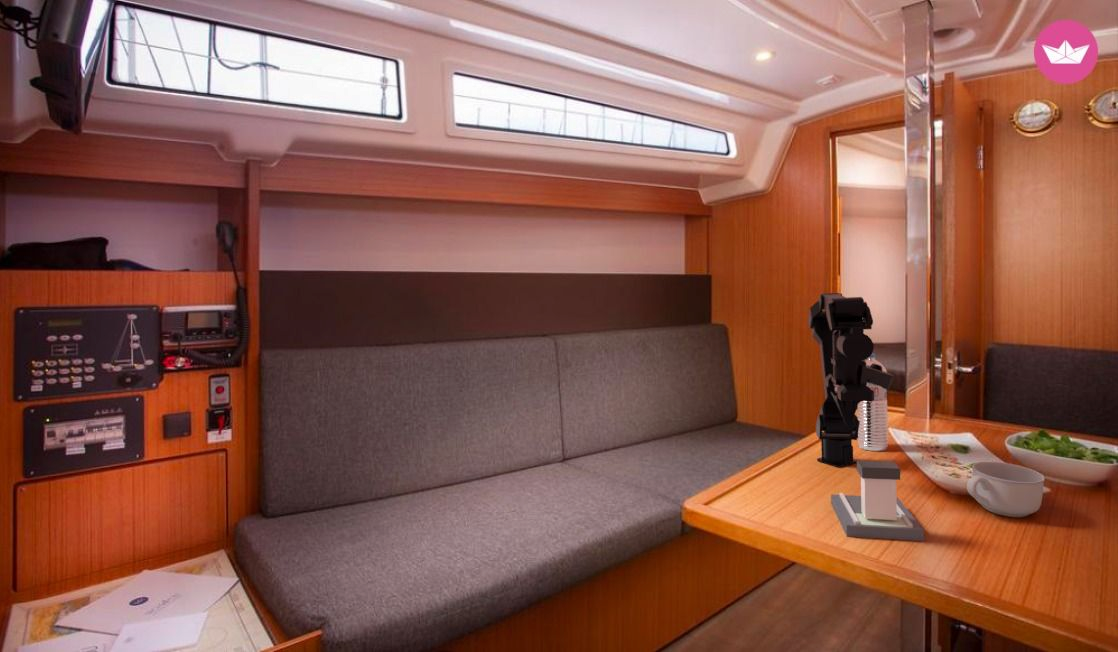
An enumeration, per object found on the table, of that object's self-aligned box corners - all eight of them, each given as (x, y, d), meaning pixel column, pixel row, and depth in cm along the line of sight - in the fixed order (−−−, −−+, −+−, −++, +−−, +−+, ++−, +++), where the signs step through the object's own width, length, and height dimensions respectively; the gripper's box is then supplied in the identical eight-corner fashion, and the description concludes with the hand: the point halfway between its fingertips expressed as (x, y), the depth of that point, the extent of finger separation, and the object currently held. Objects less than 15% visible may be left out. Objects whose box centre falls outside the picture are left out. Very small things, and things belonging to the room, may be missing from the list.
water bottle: (852, 447, 152) (850, 354, 150) (869, 443, 155) (868, 351, 153) (876, 453, 146) (874, 356, 144) (893, 449, 148) (892, 353, 147)
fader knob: (857, 510, 106) (856, 460, 105) (894, 512, 104) (893, 461, 103) (862, 519, 102) (862, 467, 101) (900, 521, 100) (900, 468, 99)
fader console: (831, 504, 115) (830, 491, 115) (897, 507, 112) (897, 494, 112) (846, 536, 101) (846, 522, 101) (923, 541, 98) (923, 526, 97)
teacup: (1011, 498, 113) (1011, 459, 113) (1060, 521, 102) (1061, 477, 102) (942, 503, 113) (942, 463, 112) (985, 526, 102) (985, 482, 101)
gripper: (902, 360, 113) (903, 437, 114) (877, 349, 131) (878, 416, 132) (840, 361, 116) (842, 436, 117) (824, 350, 134) (826, 415, 135)
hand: (848, 425), depth 125 cm, fingers closed
